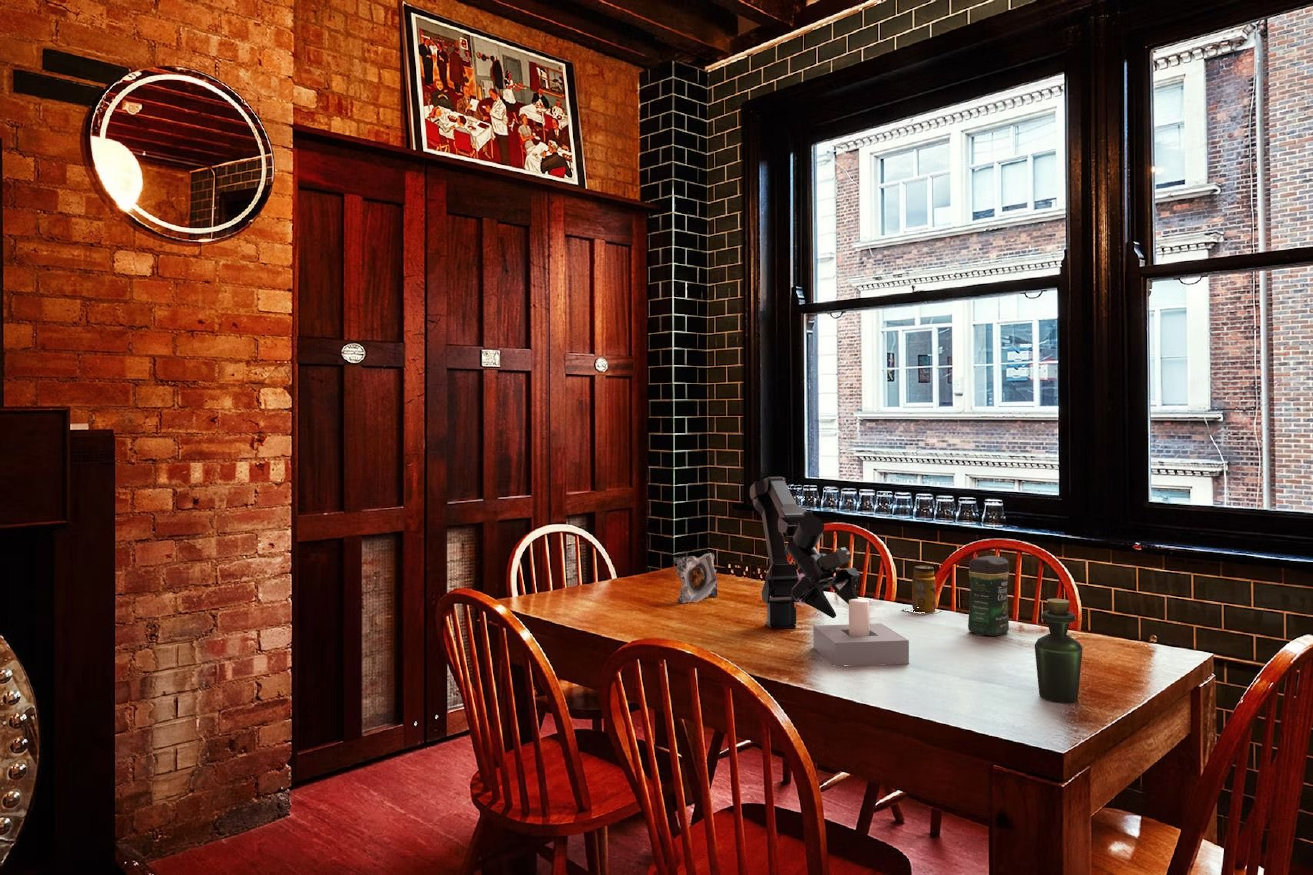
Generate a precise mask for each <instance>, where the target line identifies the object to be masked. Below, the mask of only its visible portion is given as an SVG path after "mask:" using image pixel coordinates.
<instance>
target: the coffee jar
mask: <svg viewBox="0 0 1313 875" xmlns="http://www.w3.org/2000/svg"><path fill="white" fill-rule="evenodd" d="M1009 564H1010V563H1009V561H1008V559H1006V557H1004V556H997V555H986V556H980V557H975V558H972V559H971V560H970V561H969V564H968V576H969V584H970V585H969V605H968V606H969V608H968V622H967V623H968V624H967V630H968V631H969V632H972V633H974V635H977V636H991V637H993V636H999V635H1003V634H1006V633H1008V632H1009V631H1010V630H1009V628H1010V625H1009V624H1010V622H1009V605H1008V604H1009V603H1008V600H1009V599H1008V584H1009V583H1008V581H1009V576H1010V568H1009Z"/></svg>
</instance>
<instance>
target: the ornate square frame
mask: <svg viewBox="0 0 1313 875" xmlns="http://www.w3.org/2000/svg"><path fill="white" fill-rule="evenodd" d="M714 560H715V554H714V553H713V552H710V553H704V554H703V555H702V556H700V557H697V556H694V555H690V556H676V557H673V561H674V563H675V564H676V565H677V566H676V572H677V575H678V577H679V578H680V580H681V583H682V586H681V588H680V590H678V592H679V595H678V596H679V597H678V598H677V604H681V603H683V604H685V603H690V602H695V603H698V602H700V601H702V600H704V599H707V598H710V597H709V596H711V597H714V596H716V597H718V578H717V576H716V575H717V574H716V573H717V569H715V566H714Z"/></svg>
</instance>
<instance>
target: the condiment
mask: <svg viewBox="0 0 1313 875" xmlns="http://www.w3.org/2000/svg"><path fill="white" fill-rule="evenodd" d="M911 579H912V580H911V584H912V588H911V589H912V591H911V593H912V594H911V595H912V596H911V597H912V600H911V602H912V604H911V606H912V607H911V608H913V609H914V610H913V612H914V611H915V612H925V613H921V614H919V615H921V616H923V615H929V614H935V613H941V612H940V611H941V610H940V611H938V610H939V609H936V602H937V601H936V597H937V596H936V592H937V591H936V577H935V568H934V567H933V566H931V565H916V566H914V567H913V576H912V577H911ZM917 607H919V608H917ZM902 609H903V610H904V609H905V610H906V609H907V608H902ZM903 610H902V611H903Z"/></svg>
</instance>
